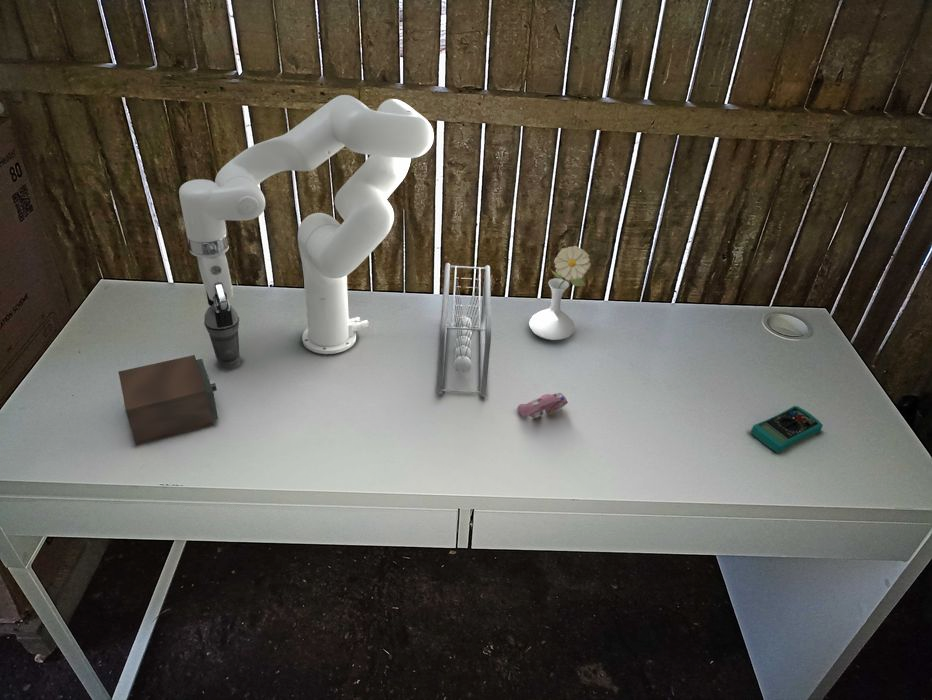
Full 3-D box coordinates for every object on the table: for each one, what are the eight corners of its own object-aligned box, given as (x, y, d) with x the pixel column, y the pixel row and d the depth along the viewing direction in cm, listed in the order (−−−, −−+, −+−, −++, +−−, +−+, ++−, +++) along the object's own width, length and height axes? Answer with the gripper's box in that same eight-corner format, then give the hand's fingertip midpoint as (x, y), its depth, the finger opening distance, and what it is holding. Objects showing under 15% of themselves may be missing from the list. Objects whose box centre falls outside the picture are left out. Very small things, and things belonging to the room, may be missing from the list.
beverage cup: (237, 375, 158) (224, 298, 146) (206, 370, 159) (190, 293, 147) (251, 356, 164) (240, 281, 152) (221, 351, 165) (208, 275, 153)
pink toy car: (523, 427, 152) (534, 414, 146) (514, 408, 154) (524, 394, 148) (561, 414, 156) (574, 401, 150) (552, 396, 158) (564, 382, 152)
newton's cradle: (442, 321, 180) (445, 259, 169) (484, 323, 180) (490, 261, 170) (436, 398, 156) (439, 331, 145) (485, 401, 156) (491, 334, 145)
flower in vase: (519, 330, 178) (530, 241, 164) (545, 313, 186) (558, 225, 171) (562, 353, 172) (578, 261, 157) (588, 333, 179) (605, 244, 164)
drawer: (213, 384, 154) (207, 357, 150) (224, 417, 146) (219, 389, 141) (139, 401, 148) (132, 373, 144) (147, 436, 140) (139, 408, 136)
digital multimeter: (821, 432, 154) (826, 422, 152) (776, 455, 147) (781, 445, 146) (793, 412, 159) (797, 402, 157) (748, 434, 152) (752, 423, 150)
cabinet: (201, 388, 154) (194, 354, 148) (213, 425, 145) (206, 390, 140) (128, 406, 148) (118, 371, 143) (136, 445, 139) (125, 409, 134)
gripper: (237, 259, 139) (247, 332, 149) (218, 221, 151) (229, 291, 161) (196, 265, 136) (210, 340, 146) (181, 226, 148) (195, 298, 158)
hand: (220, 314), depth 154 cm, fingers open, 8 cm apart
